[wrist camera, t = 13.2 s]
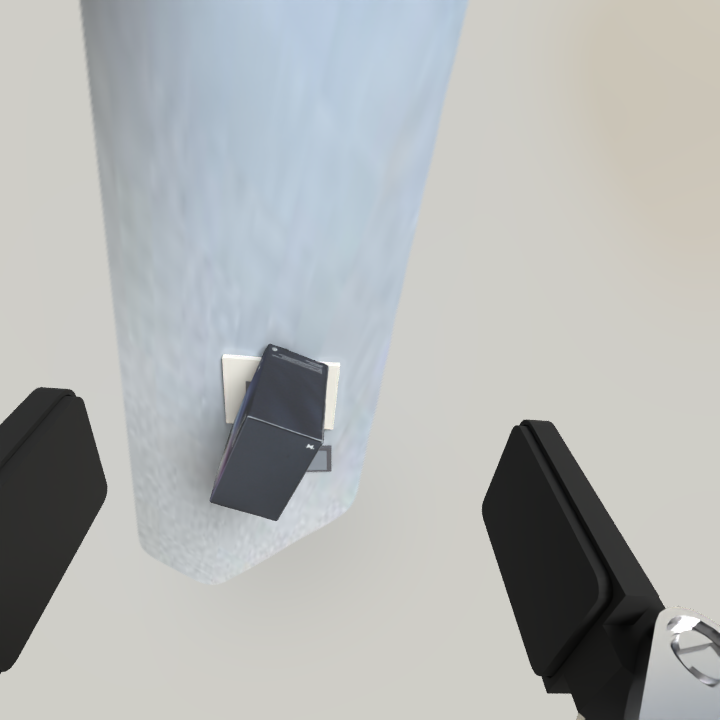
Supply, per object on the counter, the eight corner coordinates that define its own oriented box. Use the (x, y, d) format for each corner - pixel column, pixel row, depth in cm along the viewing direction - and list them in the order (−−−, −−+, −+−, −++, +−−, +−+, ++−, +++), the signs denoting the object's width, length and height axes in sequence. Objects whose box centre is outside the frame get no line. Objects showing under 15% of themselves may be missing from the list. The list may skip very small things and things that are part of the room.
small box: (265, 339, 40) (244, 413, 31) (331, 363, 42) (328, 441, 33) (231, 420, 45) (204, 505, 36) (291, 439, 47) (279, 524, 38)
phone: (267, 442, 48) (266, 449, 48) (331, 442, 49) (331, 449, 48) (270, 465, 50) (268, 472, 49) (331, 464, 51) (331, 471, 50)
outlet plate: (223, 354, 41) (221, 358, 41) (340, 363, 42) (340, 367, 42) (227, 419, 46) (226, 423, 45) (333, 425, 47) (332, 430, 46)
